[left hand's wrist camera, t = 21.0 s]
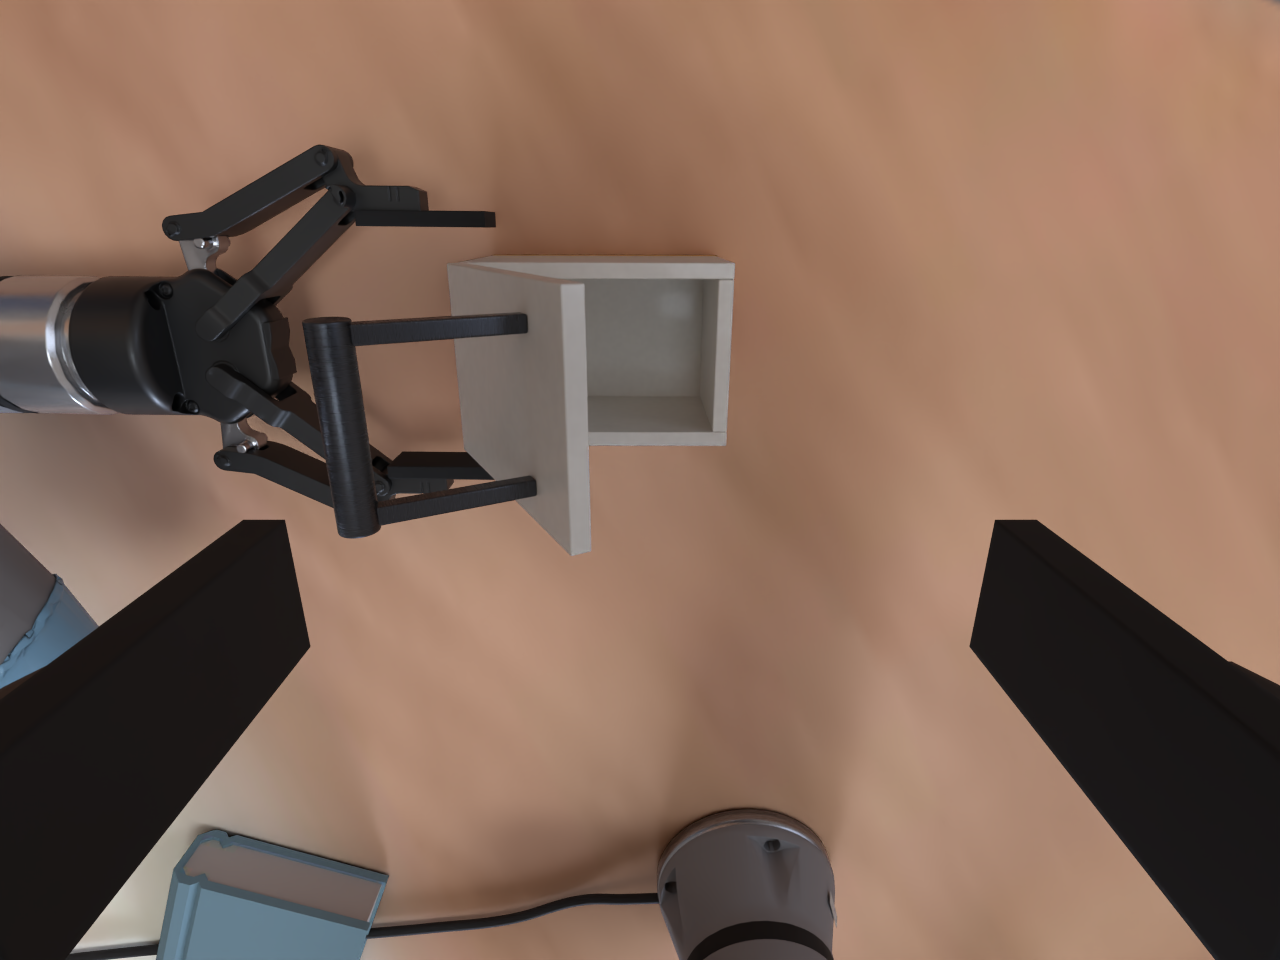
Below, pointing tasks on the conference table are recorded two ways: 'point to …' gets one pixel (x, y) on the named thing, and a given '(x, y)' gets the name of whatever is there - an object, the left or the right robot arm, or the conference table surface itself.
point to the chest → (649, 343)
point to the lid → (474, 402)
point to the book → (265, 904)
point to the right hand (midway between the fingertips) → (499, 350)
